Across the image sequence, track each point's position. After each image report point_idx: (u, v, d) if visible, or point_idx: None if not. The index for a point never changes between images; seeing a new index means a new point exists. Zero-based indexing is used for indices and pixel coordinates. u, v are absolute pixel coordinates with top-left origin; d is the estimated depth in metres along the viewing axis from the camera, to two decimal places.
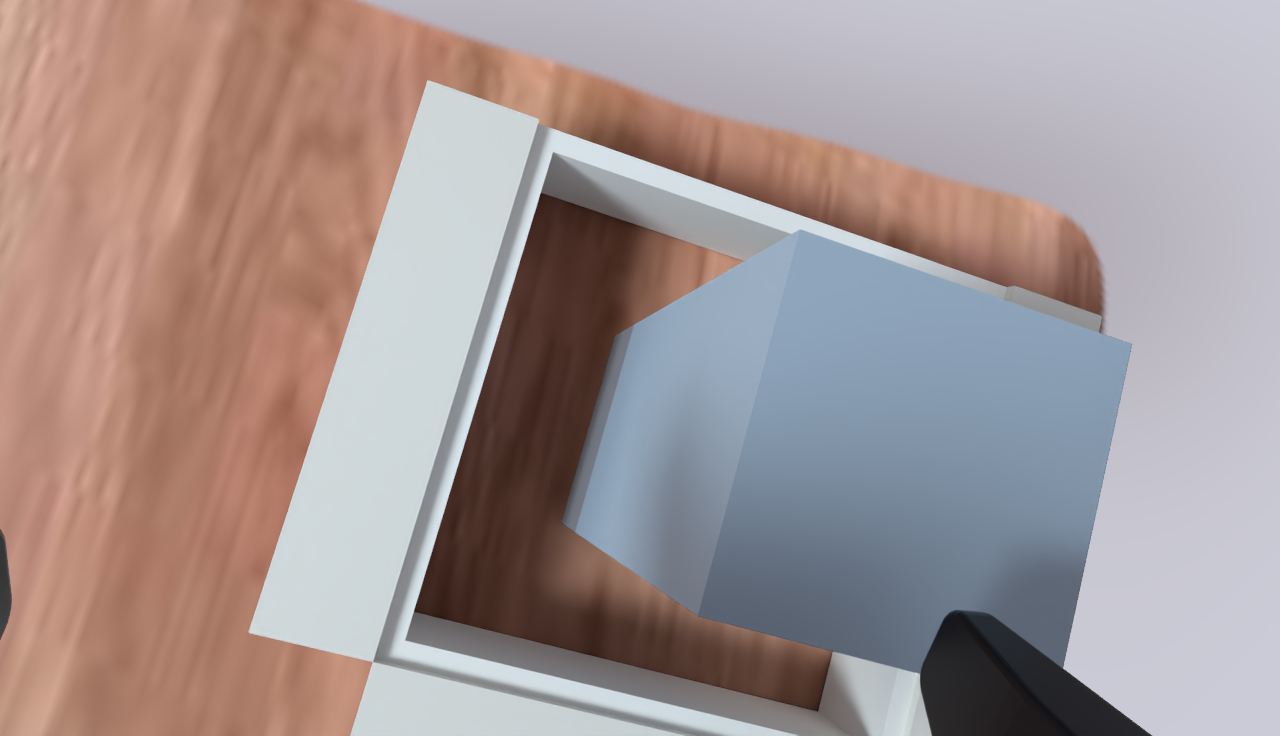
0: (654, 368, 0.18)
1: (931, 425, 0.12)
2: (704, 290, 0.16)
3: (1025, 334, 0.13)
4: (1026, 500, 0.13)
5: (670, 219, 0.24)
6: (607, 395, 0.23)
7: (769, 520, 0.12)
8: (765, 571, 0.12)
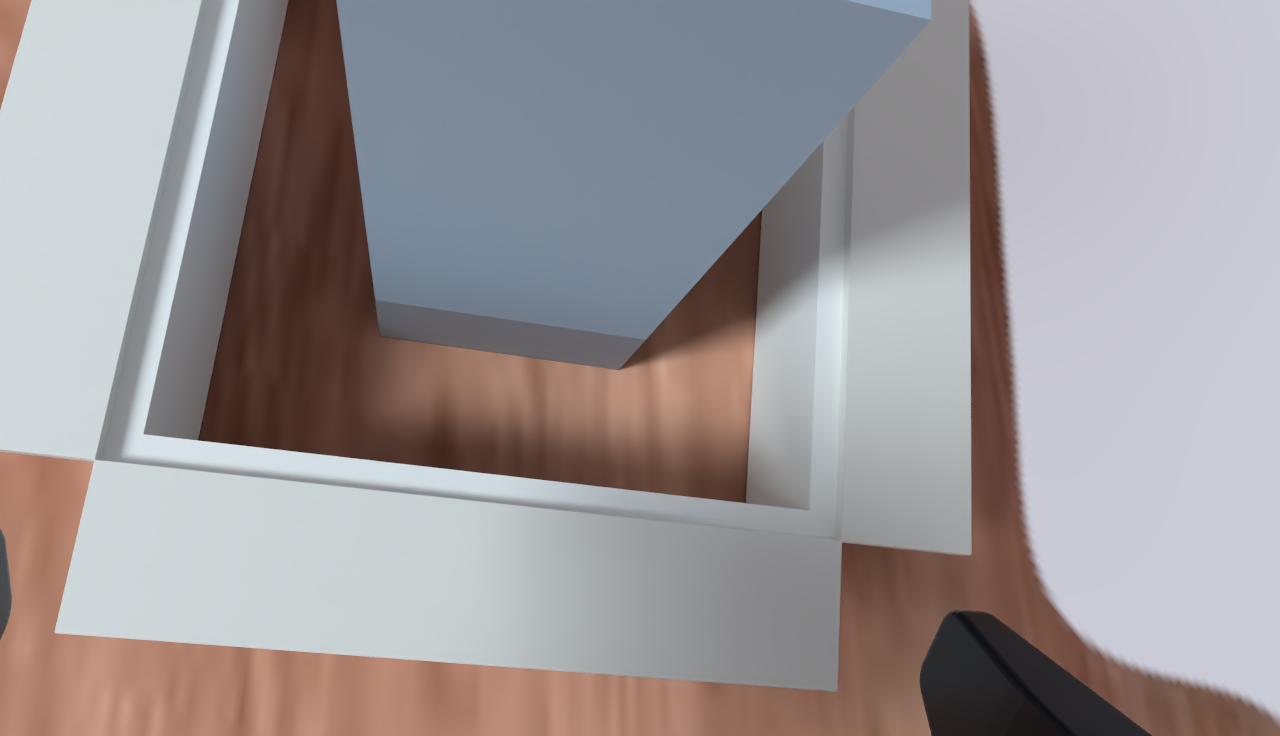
0: None
1: None
2: None
3: None
4: None
5: None
6: None
7: None
8: None
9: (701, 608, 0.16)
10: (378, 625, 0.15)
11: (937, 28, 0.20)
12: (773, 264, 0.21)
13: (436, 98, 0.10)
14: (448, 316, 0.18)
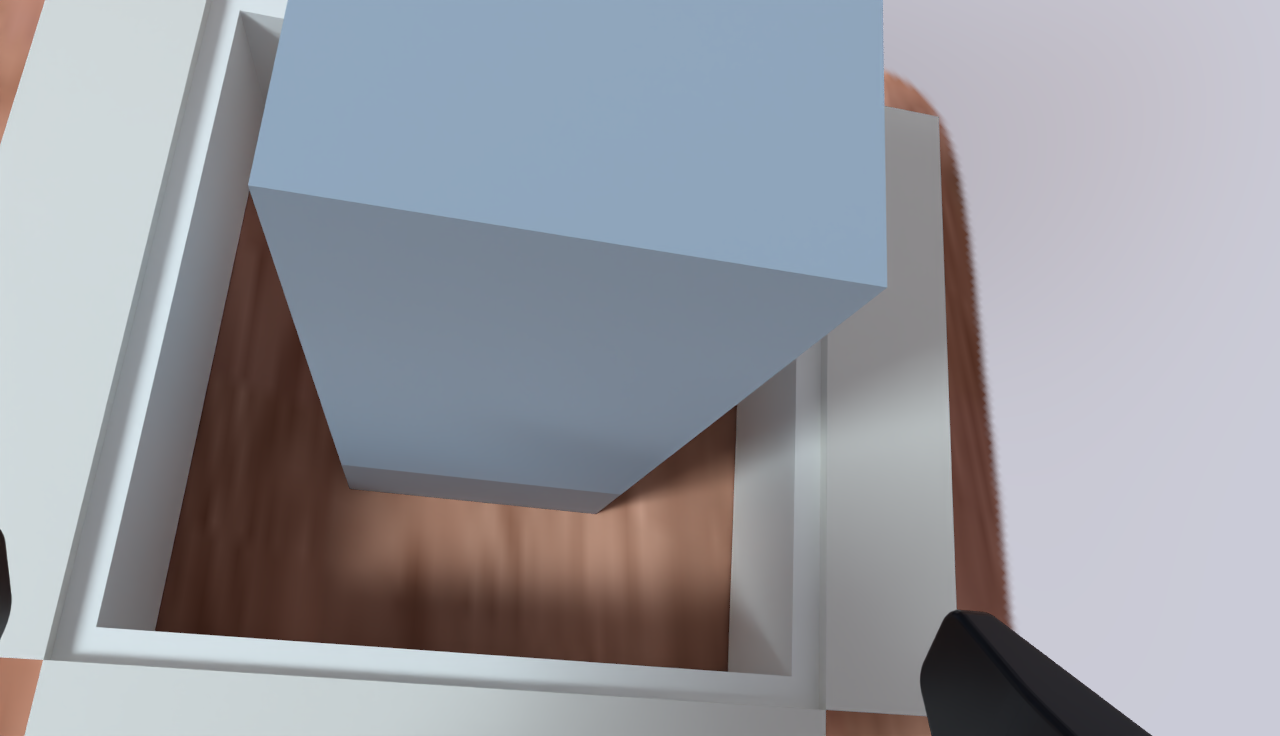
0: None
1: None
2: None
3: None
4: (773, 7, 0.08)
5: None
6: None
7: (358, 43, 0.07)
8: (363, 116, 0.07)
9: None
10: None
11: (908, 167, 0.20)
12: (750, 402, 0.20)
13: (384, 331, 0.10)
14: (417, 476, 0.17)
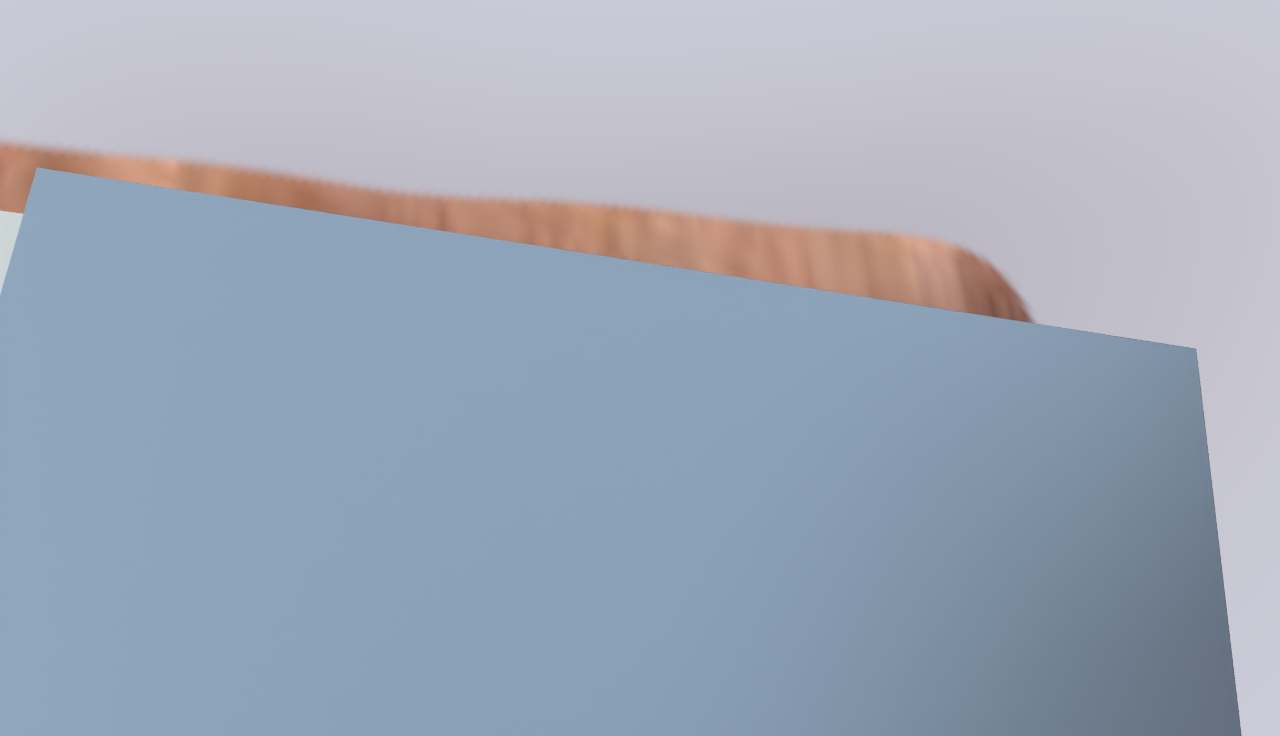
0: None
1: None
2: None
3: (887, 379, 0.04)
4: None
5: None
6: None
7: None
8: None
9: None
10: None
11: None
12: None
13: None
14: None
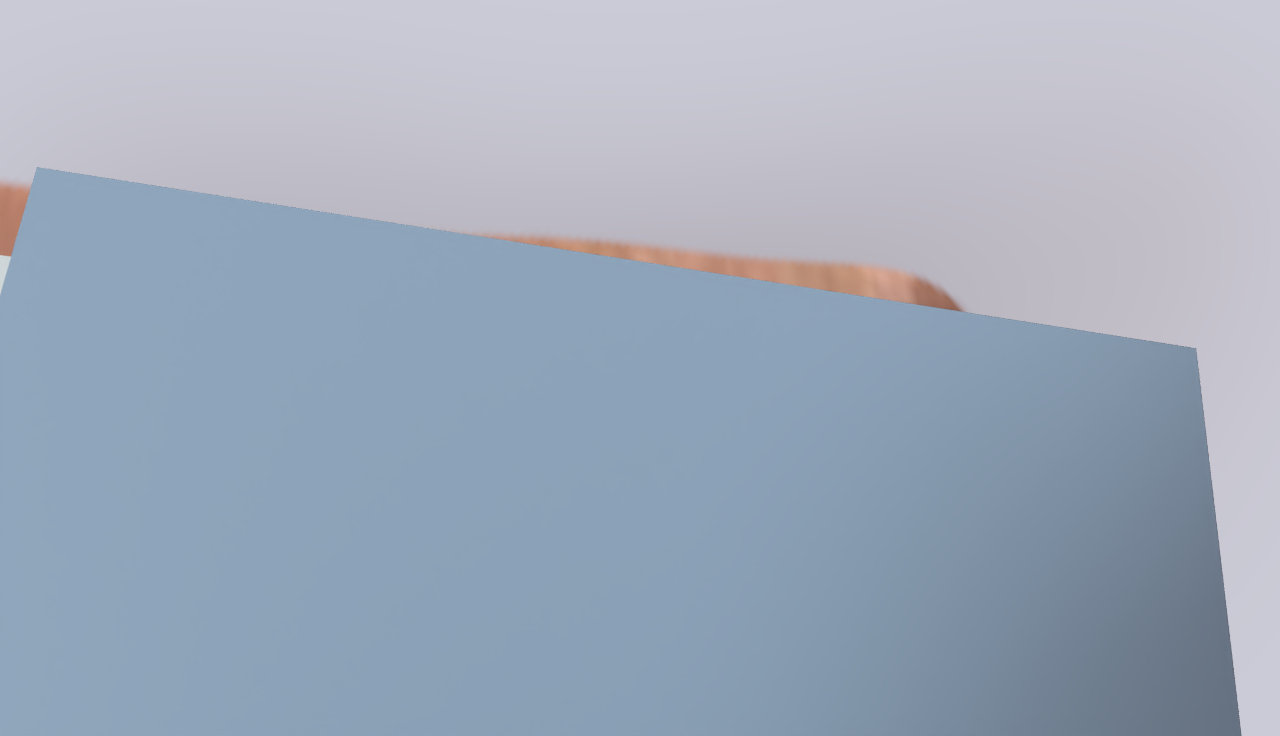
0: None
1: None
2: None
3: (884, 374, 0.04)
4: None
5: None
6: None
7: None
8: None
9: None
10: None
11: None
12: None
13: None
14: None
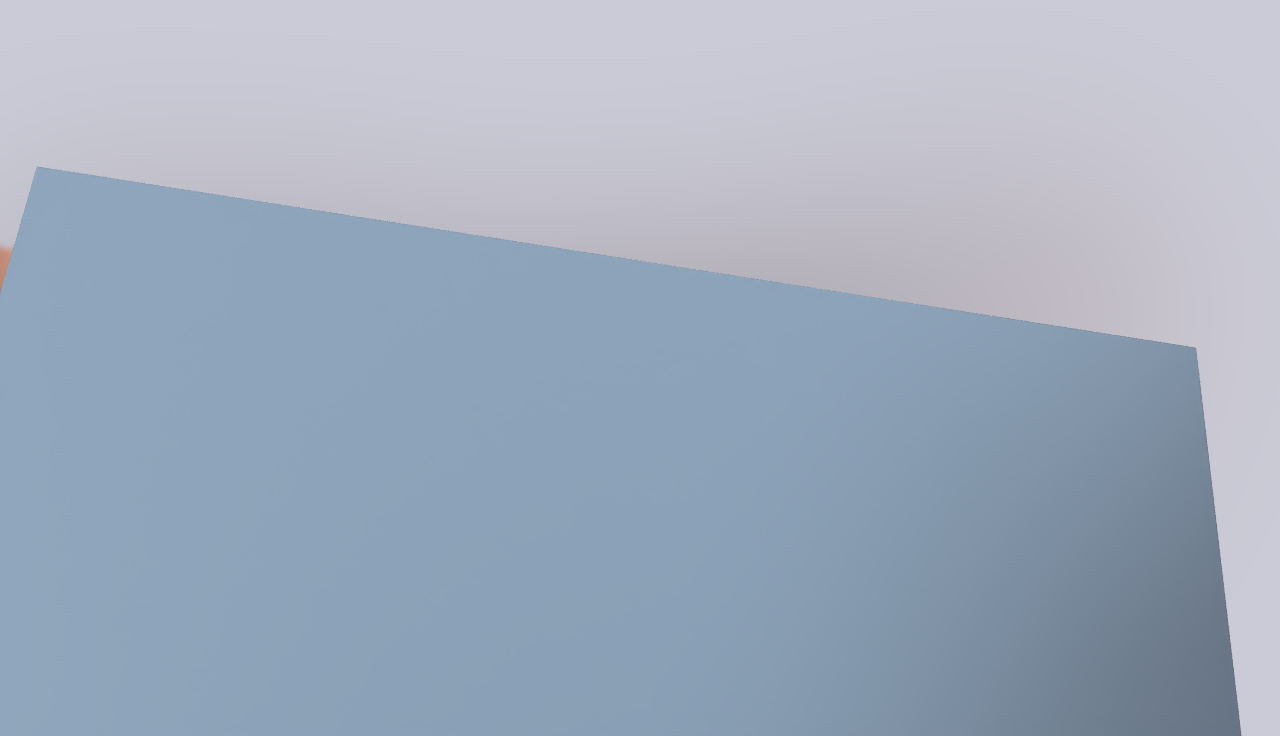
0: None
1: None
2: None
3: (887, 377, 0.04)
4: None
5: None
6: None
7: None
8: None
9: None
10: None
11: None
12: None
13: None
14: None
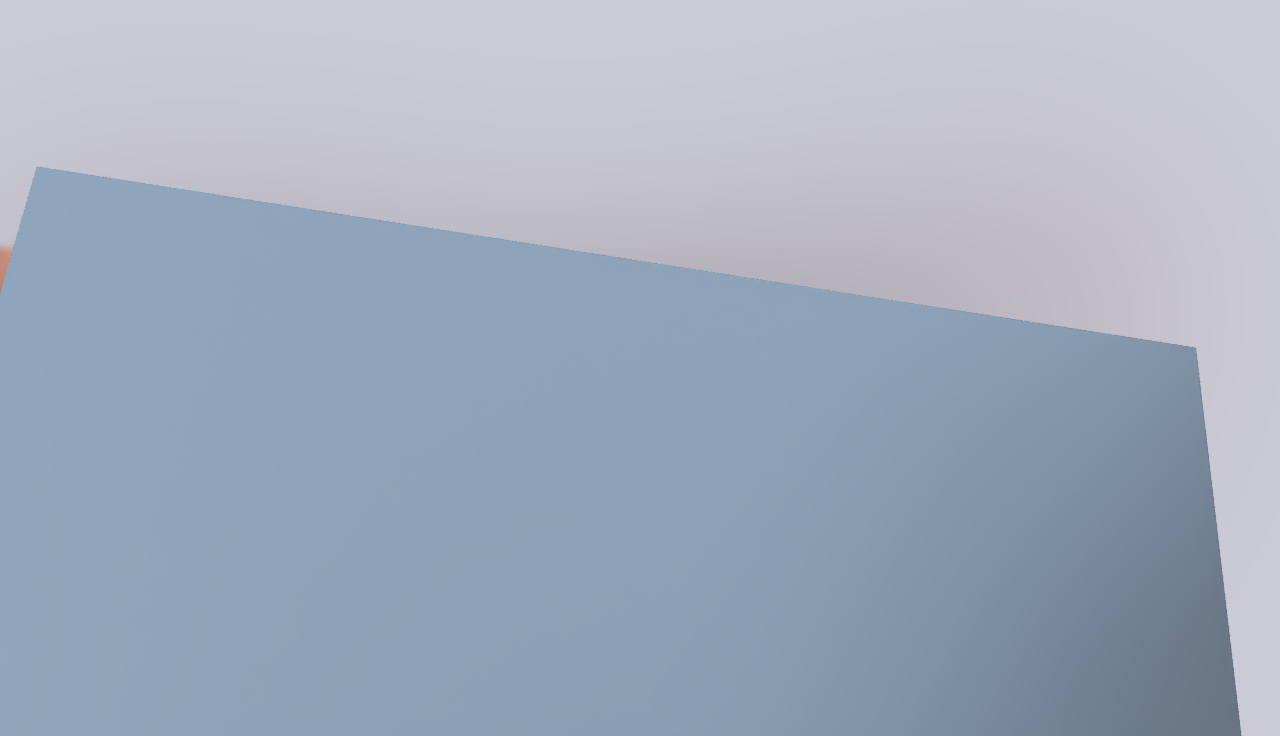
0: None
1: None
2: None
3: (886, 377, 0.04)
4: None
5: None
6: None
7: None
8: None
9: None
10: None
11: None
12: None
13: None
14: None
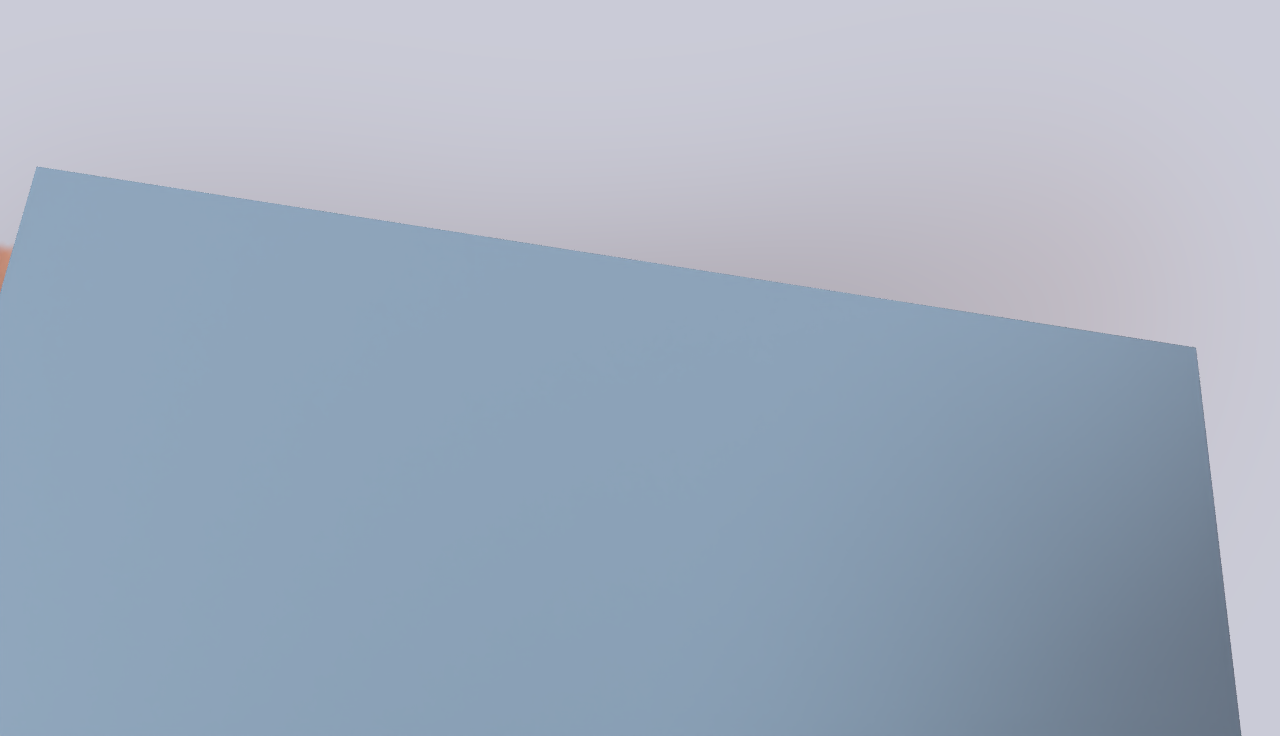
0: None
1: None
2: None
3: (887, 374, 0.04)
4: None
5: None
6: None
7: None
8: None
9: None
10: None
11: None
12: None
13: None
14: None
